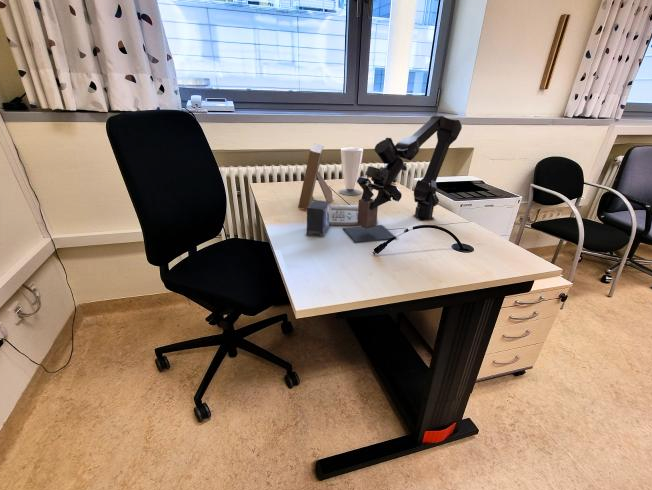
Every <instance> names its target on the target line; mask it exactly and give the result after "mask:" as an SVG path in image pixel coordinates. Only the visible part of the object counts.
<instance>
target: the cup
mask: <svg viewBox="0 0 652 490" xmlns="http://www.w3.org/2000/svg"><path fill="white" fill-rule="evenodd" d="M363 155H364V149H363V148H361V147H351V146H349V147H341V148H340V158H341V170H342V176H343V181H344V185H345V189H341V190H339V193H340V195H346V196H358V195H362V194H361V193H362V192H361V191H360V190H358V189H356V186H357V184H358V183H357V180H358V178H359V177H360V171H361V166H362V161H363Z"/></svg>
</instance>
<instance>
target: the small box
mask: <svg viewBox="0 0 652 490" xmlns="http://www.w3.org/2000/svg"><path fill="white" fill-rule="evenodd" d="M329 207H330V201H329V202H327V201H326V200H325V201H324V200H316V199H313V201H311V202H310V205H309V206H308V207H307V210H306V236H313V237H324V235H325V234H326V232H327V231H328V229H329V226H330V225H329Z"/></svg>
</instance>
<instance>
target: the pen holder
mask: <svg viewBox="0 0 652 490" xmlns="http://www.w3.org/2000/svg"><path fill="white" fill-rule="evenodd" d="M374 200H375V198H372V197H371V198H365V199H361V198H360V199H358V205H357V206H358V224H356V225H357V226H358V227H364V228H366V229H367V228H371V227H375V226H376V223H377V224H378V210H379V208H378V207H379V206H378V207H376V208H374V209H373V210H370V206H371V204H372V203H373V201H374Z"/></svg>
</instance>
